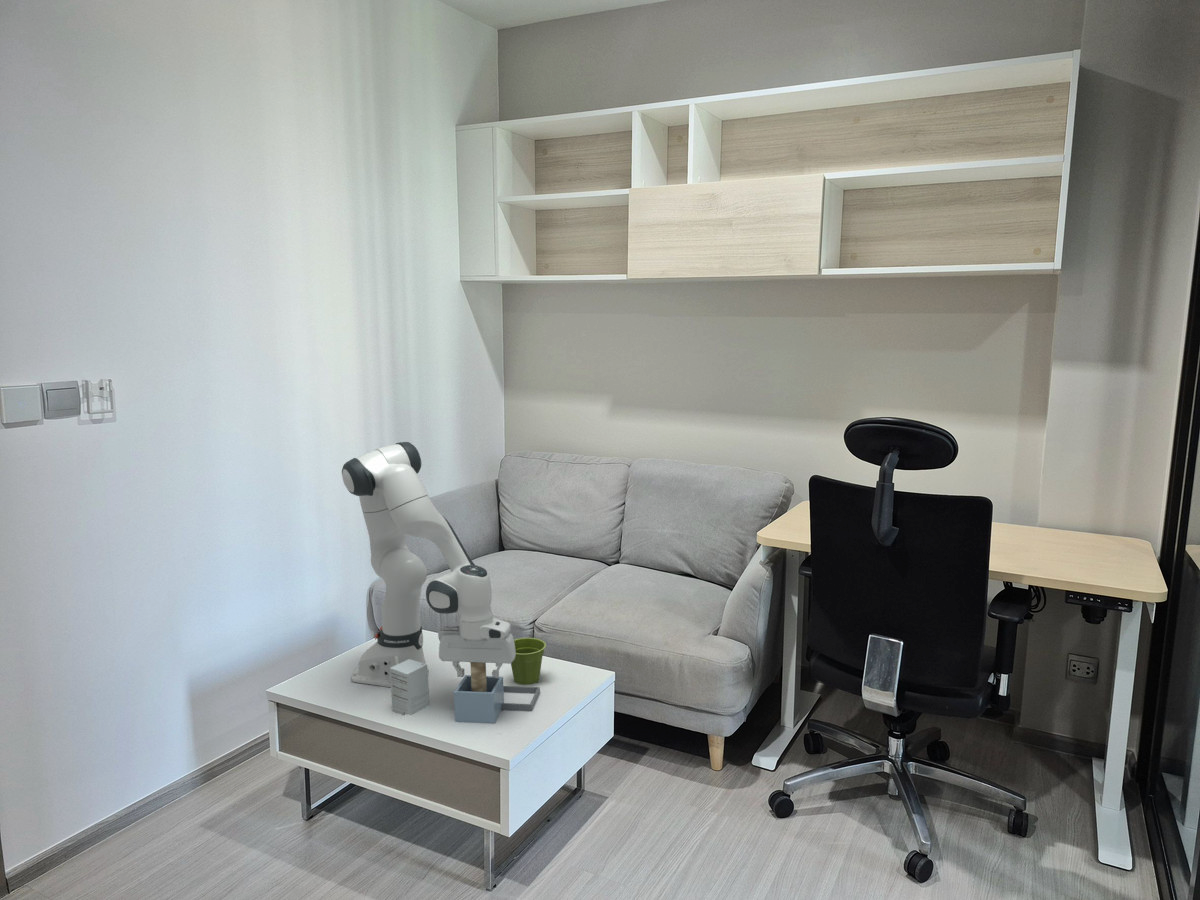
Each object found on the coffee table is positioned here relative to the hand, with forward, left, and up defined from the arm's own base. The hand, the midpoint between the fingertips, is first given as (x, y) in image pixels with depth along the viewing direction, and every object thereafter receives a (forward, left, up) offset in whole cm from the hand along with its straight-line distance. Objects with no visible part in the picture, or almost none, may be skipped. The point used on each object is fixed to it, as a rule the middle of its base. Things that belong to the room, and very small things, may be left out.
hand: (478, 676), depth 222 cm
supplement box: (-20, +2, -11) cm, 23 cm away
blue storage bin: (0, 0, -11) cm, 11 cm away
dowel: (0, 0, -10) cm, 10 cm away
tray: (+8, +8, -11) cm, 16 cm away
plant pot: (+8, +22, -11) cm, 26 cm away
